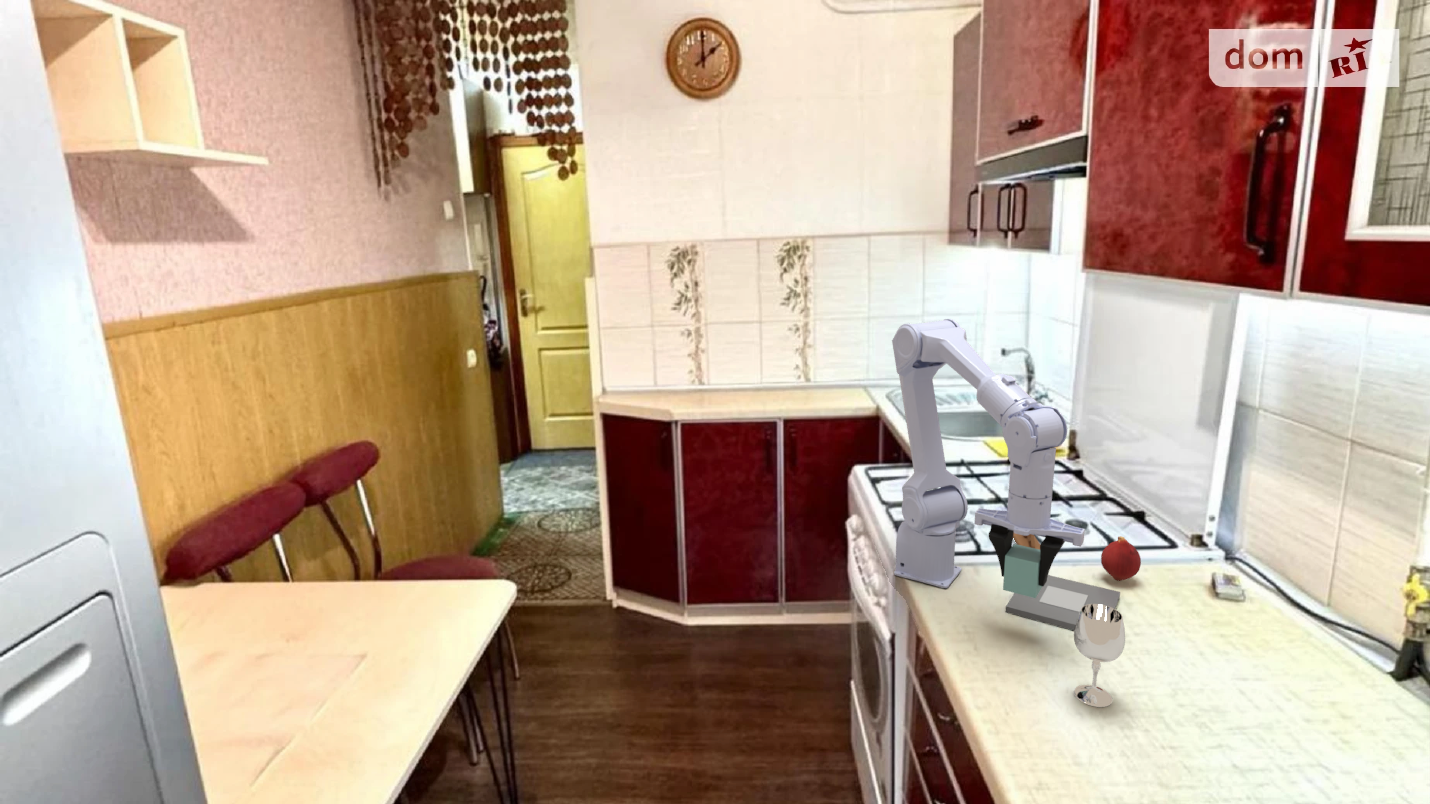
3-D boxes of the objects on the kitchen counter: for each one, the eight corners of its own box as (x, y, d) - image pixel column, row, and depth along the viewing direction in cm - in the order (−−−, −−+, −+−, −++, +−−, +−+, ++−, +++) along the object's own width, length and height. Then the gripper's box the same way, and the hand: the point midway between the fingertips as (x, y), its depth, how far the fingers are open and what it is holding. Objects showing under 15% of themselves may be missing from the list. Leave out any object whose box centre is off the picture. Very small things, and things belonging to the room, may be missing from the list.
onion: (1129, 572, 127) (1134, 529, 125) (1144, 589, 121) (1150, 544, 119) (1093, 572, 127) (1097, 529, 125) (1107, 588, 122) (1112, 544, 120)
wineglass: (1114, 686, 98) (1123, 604, 95) (1121, 714, 92) (1131, 628, 89) (1066, 679, 99) (1073, 598, 96) (1071, 706, 94) (1079, 621, 91)
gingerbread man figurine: (1010, 535, 143) (1014, 476, 140) (1031, 535, 142) (1035, 477, 139) (1023, 556, 134) (1027, 494, 131) (1045, 556, 134) (1050, 494, 131)
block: (1002, 589, 108) (1005, 555, 107) (1011, 577, 112) (1013, 543, 110) (1035, 598, 106) (1038, 563, 104) (1043, 585, 109) (1046, 550, 108)
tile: (1005, 612, 116) (1005, 605, 116) (1028, 575, 127) (1028, 569, 127) (1104, 638, 108) (1105, 632, 108) (1119, 597, 119) (1120, 591, 119)
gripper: (969, 491, 106) (965, 577, 109) (1080, 511, 98) (1071, 604, 101) (984, 476, 111) (980, 558, 115) (1090, 494, 103) (1082, 582, 107)
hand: (1023, 578), depth 108 cm, fingers closed on block, 4 cm apart
